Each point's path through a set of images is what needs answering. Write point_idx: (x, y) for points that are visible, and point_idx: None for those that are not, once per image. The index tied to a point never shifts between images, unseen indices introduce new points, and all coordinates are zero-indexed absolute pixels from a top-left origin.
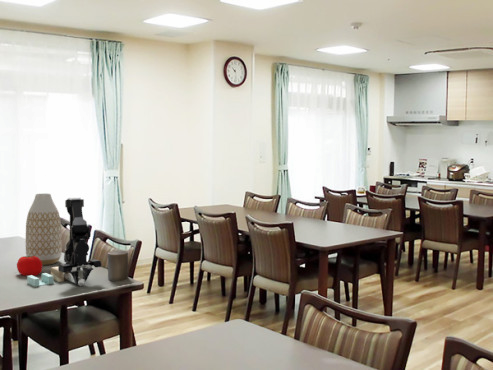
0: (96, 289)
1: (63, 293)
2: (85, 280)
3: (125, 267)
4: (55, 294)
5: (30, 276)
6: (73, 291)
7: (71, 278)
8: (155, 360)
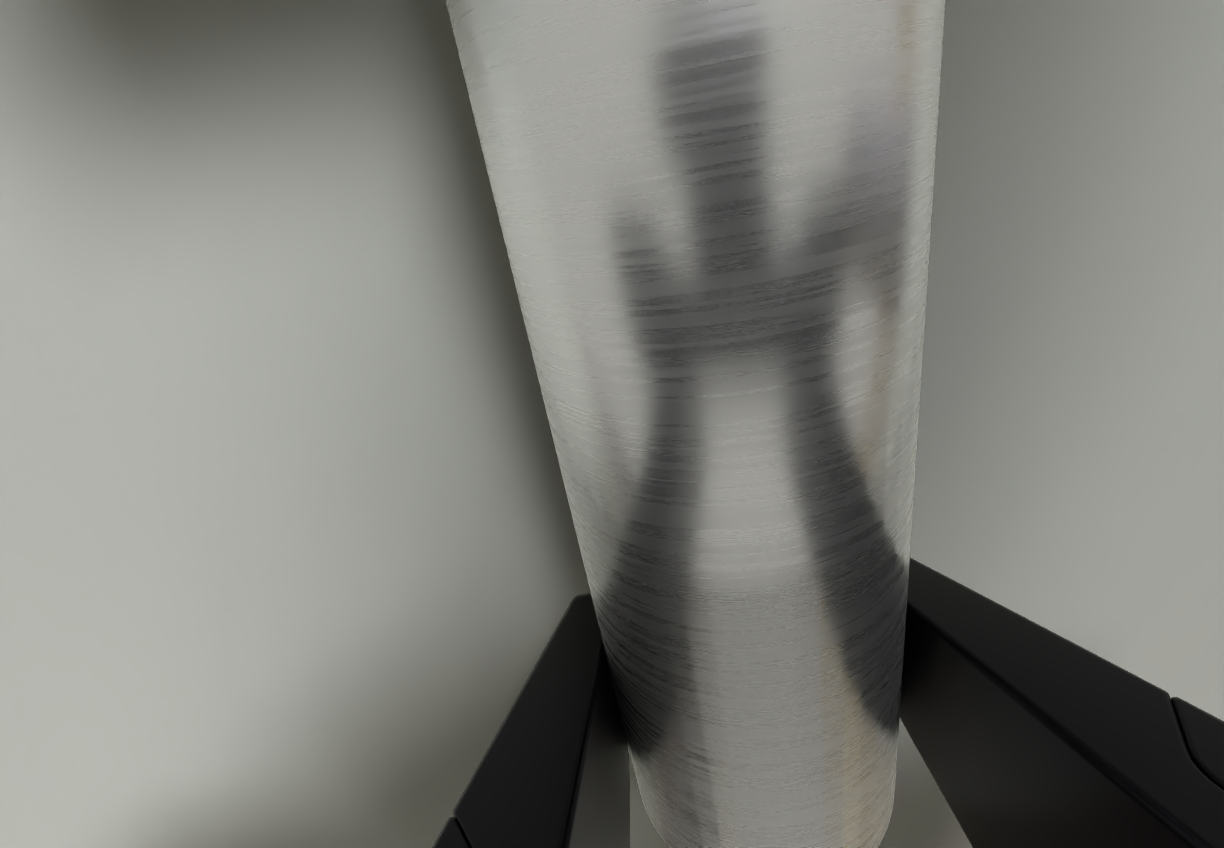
0: (912, 801)
1: (212, 797)
2: (892, 794)
3: None
4: (27, 798)
5: None
6: (446, 756)
7: (501, 210)
8: None
